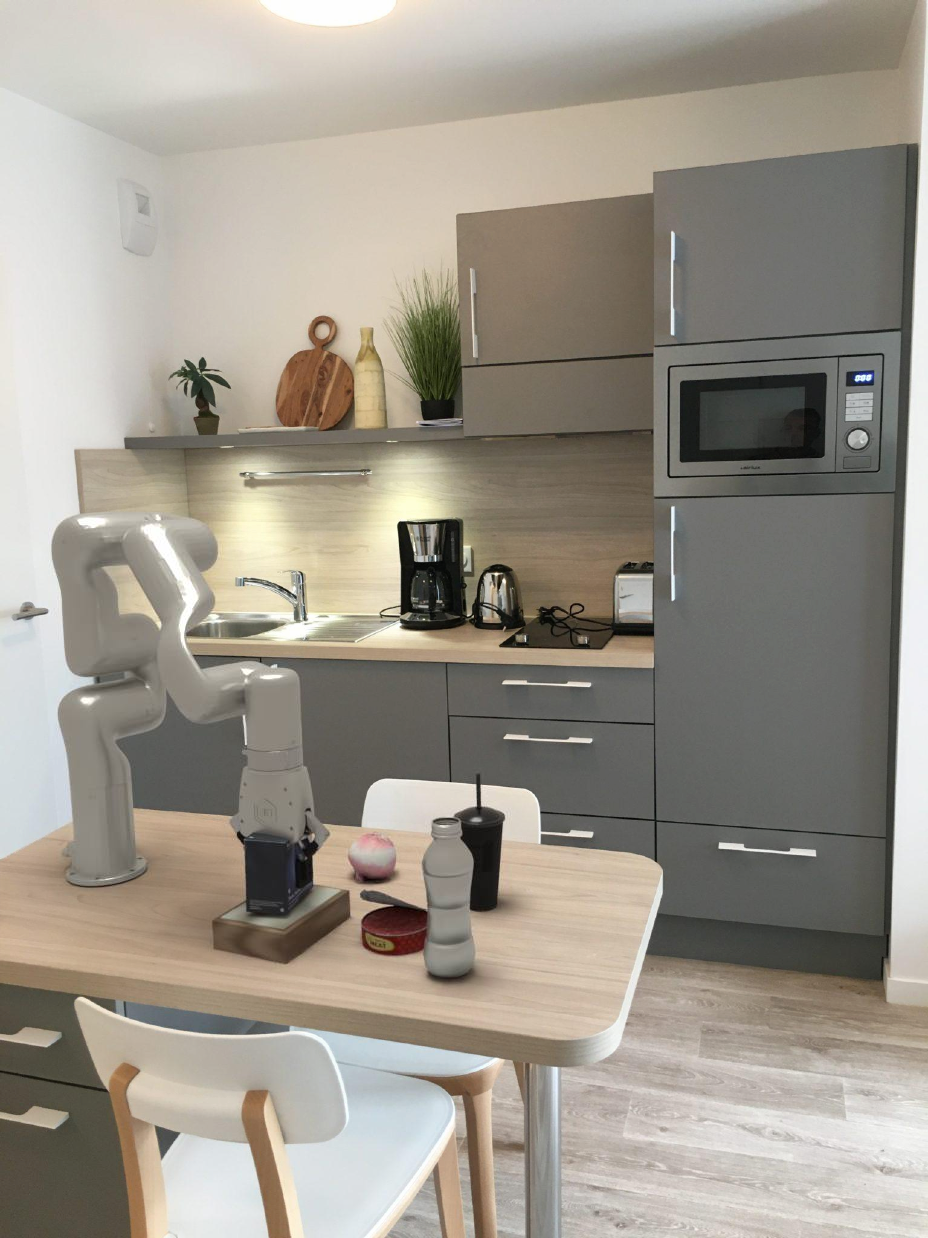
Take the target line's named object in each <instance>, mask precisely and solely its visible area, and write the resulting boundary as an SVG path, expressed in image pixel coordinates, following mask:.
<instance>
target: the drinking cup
mask: <svg viewBox="0 0 928 1238" xmlns="http://www.w3.org/2000/svg"><path fill="white" fill-rule="evenodd" d="M481 780H482V778H481V773H479V772H478V773H475V792H476V793H475V795H476V805H475V806H471V807H467V808H464V809H463V810H460V811H458V812H456V813H454V814H453V817H455V818H458V819H460V821H461V830H462V836H461V837H460V839H461V840H462V841H463V842H464V844H465V845H466V846H467V848H468V849H469V850H470V852H471V854H472V857H473V860H474V863H473V874H472V881H471V889H470V902H469V903H470V911H475V912H484V911H485V912H486V911H490V910H491V911H492V910H493V909H495V908H496V907H497V906H498V901H499V900H498V899H499V885H500V870H501V869H500V868H501V856H502V846H503V845H502V844H503V843H502V841H503V831H504V830H503V829H504V823H505V820H506V815H505V813H504V812H502V811H500V810H498V809H495V808H492V807H489V806H485V805H484V806H482V783H481Z"/></svg>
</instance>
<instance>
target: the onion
mask: <svg viewBox="0 0 928 1238" xmlns="http://www.w3.org/2000/svg"><path fill="white" fill-rule="evenodd" d="M347 858H348V861H349V863H350V865H351V867H352V869H354V875H355V877H354V881H355V884H361V883H362V884H363V883H364V884H371V883H372V884H374V883H376V884H377V883H380V882H382V881H381V880H382V879H385V878H387V877H389V875H391V874H392V873H393V872H394V869H395V868H396V863H397V851H396V849H395V845H394V842H393V841H392V840H391V839H390V838H389V836H387V835H385V834H382V833H379V832H377V831H373V833H367V834H363V835H361V836H360V837H358V838H357V839H356V840H355V841H354V842H353V843H352V844H351V845H350V847H349V849H348V853H347ZM369 879H371V880H374V881H369V882H367V881H366V880H369Z"/></svg>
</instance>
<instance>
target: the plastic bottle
mask: <svg viewBox="0 0 928 1238" xmlns="http://www.w3.org/2000/svg"><path fill="white" fill-rule="evenodd" d="M430 823H431V831H430V836H431V837H432V838H433V839H432V841H431V842H430V844H429V845H428V847H427V848H426V849H425V852H424V854H423V856H422V858H421V859H422V860H421V869H422V876H423V881H424V888H425V897H426V909H427V910H426V911H427V912H428V914H427V929H426V937H425V942H424V949H423V951H422V955H423V961H424V965H425V967H426V968H427V970H428V971H429V973H430V974H432V975H433V976H436V977H440V978H457V977H461V976H464V975H466V974H467V973H469V972H470V971H471V969H472V967H473V966H474V965H475V959H476V945H475V944H476V943H475V939H474V935H473V932H472V931H473V930H472V921H471V920H472V919H471V912H470V911H471V910H470V903H469V902H470V889H471V881H472V874H473V863H474V860H473V857H472V854H471V852H470V850H469V849H468V848H467V846H466V845H465V844H464V842H463V841H462V840H461V839H460V837H461V836H462V830H461V821H460V819H458V818H455V817H454V816H440V817H436V818H434V819H432V820H431V822H430Z"/></svg>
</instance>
